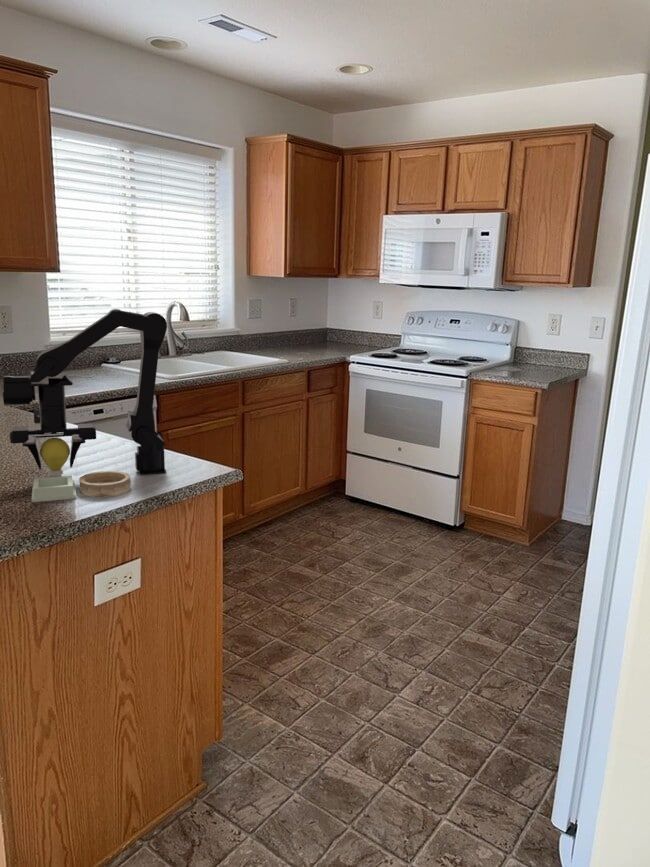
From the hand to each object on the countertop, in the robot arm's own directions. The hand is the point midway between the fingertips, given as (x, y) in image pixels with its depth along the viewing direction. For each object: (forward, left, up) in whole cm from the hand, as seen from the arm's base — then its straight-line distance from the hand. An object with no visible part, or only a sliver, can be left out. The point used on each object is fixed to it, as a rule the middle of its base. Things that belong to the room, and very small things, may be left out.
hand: (55, 468), depth 161 cm
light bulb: (0, 0, -3) cm, 3 cm away
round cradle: (-10, +12, -3) cm, 16 cm away
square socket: (+1, +12, -3) cm, 12 cm away
